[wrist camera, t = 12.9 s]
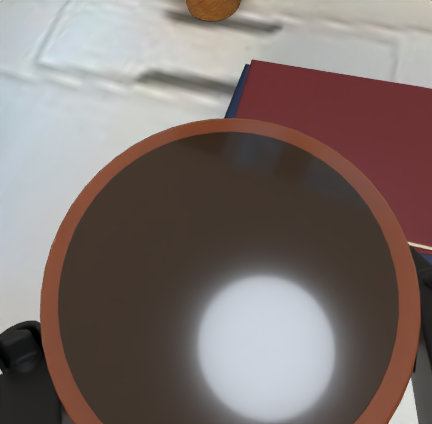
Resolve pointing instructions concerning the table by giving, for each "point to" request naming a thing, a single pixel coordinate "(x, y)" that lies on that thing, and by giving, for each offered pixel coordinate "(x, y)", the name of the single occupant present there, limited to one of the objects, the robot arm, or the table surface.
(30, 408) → the robot arm
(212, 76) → the table surface
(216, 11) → the disposable coffee cup
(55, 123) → the table surface
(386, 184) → the burgundy book
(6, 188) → the table surface
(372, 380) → the terracotta pot
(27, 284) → the table surface
